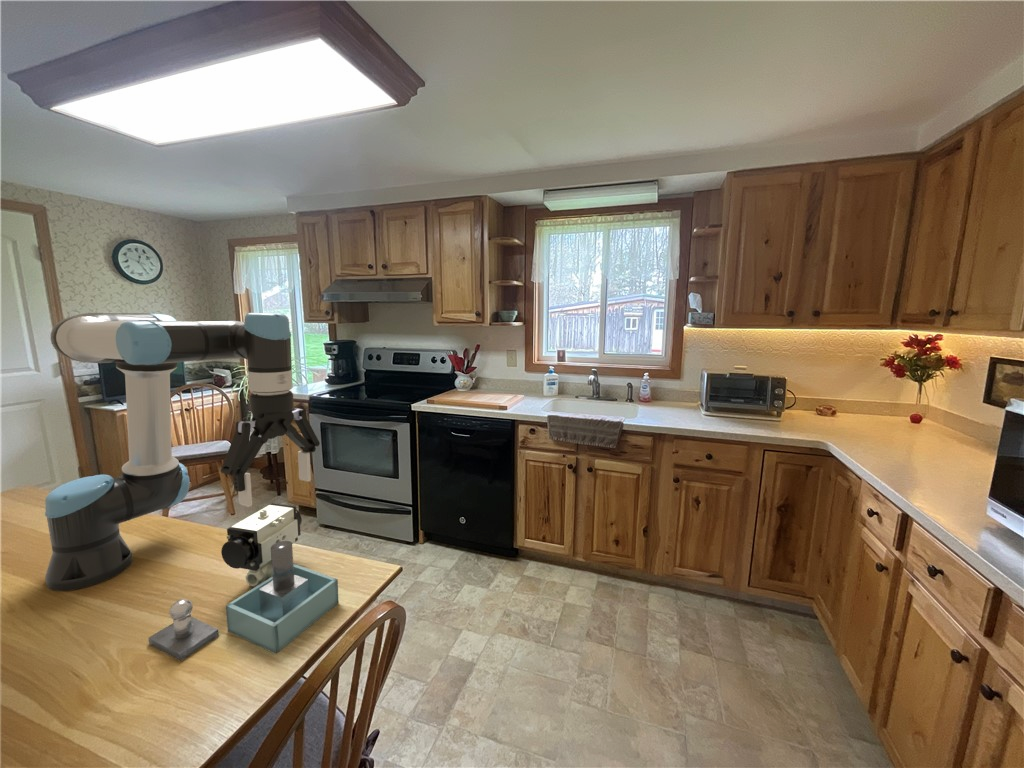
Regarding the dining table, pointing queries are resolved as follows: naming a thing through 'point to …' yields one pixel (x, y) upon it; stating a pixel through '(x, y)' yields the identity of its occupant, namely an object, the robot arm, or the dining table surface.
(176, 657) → the stud plate
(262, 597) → the block with domed cylinder
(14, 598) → the dining table surface
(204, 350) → the robot arm
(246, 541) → the ball valve
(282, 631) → the bin
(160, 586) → the dining table surface
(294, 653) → the dining table surface
